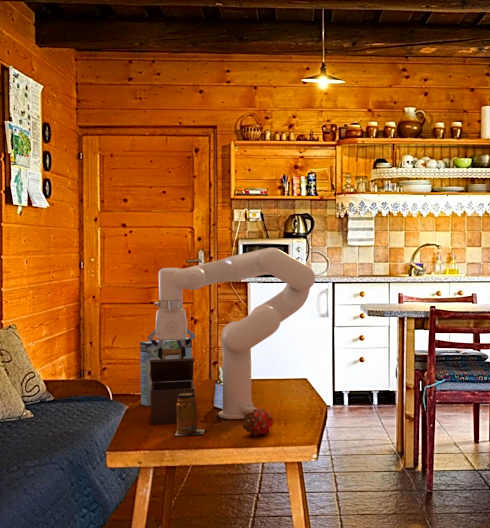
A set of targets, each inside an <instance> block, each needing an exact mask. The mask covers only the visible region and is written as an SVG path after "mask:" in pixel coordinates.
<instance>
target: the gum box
mask: <svg viewBox="0 0 490 528" xmlns="http://www.w3.org/2000/svg"><path fill="white" fill-rule="evenodd" d="M188 338H189V337H187V338H185V339H184V341H186V340H187V339H188ZM156 341H157V342H159V340H158V339H157V340H156ZM161 346H162V350H163V349H181V347H182V344H181V342H180V340H163V343H162V345H161ZM139 350H140V351H139V357H140V364H139V365H140V404H141V405H142V406H145V407H151V392H150V391H151V384H152V383H153V382H152V380H151V368H150V360H160V358H158V348H157V347H156V346H155V345H154V344H153V343H152V342H151V341H149V340H148V341H140V342H139ZM185 352H186V357H183V358H184V359H185V358H193V340H192V341H191V342H190V343H189V344H188V345H187V346H186V347H185ZM162 356H163V355H162ZM165 359H179V355H165ZM189 381H193V382H194V379H193V380H189ZM168 382H174V381H168Z"/></svg>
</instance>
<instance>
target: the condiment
mask: <svg viewBox="0 0 490 528" xmlns="http://www.w3.org/2000/svg"><path fill="white" fill-rule="evenodd" d="M177 397H178V400H177V401H178V403H177V406H176V408H177V423H176V432H175V434H174V436H181V437H182V436H197V435H204V433H205V431H206V429H203V428H201V429H198V414H197V412H198V409H197V407H198V406H197V405H198V404H197V402H196V394H195V392H194V393H181V394H178V396H177Z"/></svg>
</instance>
